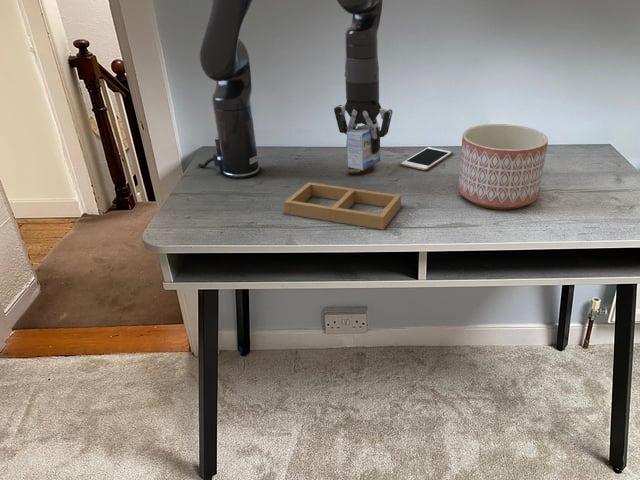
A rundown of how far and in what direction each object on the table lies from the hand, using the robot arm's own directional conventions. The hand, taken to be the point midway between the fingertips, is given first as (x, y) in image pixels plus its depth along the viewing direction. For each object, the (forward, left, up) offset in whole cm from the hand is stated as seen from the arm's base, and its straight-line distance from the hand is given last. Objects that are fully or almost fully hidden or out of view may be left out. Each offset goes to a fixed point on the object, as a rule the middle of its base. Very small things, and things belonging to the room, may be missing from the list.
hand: (363, 151), depth 132 cm
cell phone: (+9, +26, -10) cm, 29 cm away
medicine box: (0, 0, -3) cm, 3 cm away
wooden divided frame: (0, -13, -10) cm, 16 cm away
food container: (-5, +13, -10) cm, 17 cm away
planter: (+32, +7, -10) cm, 34 cm away
